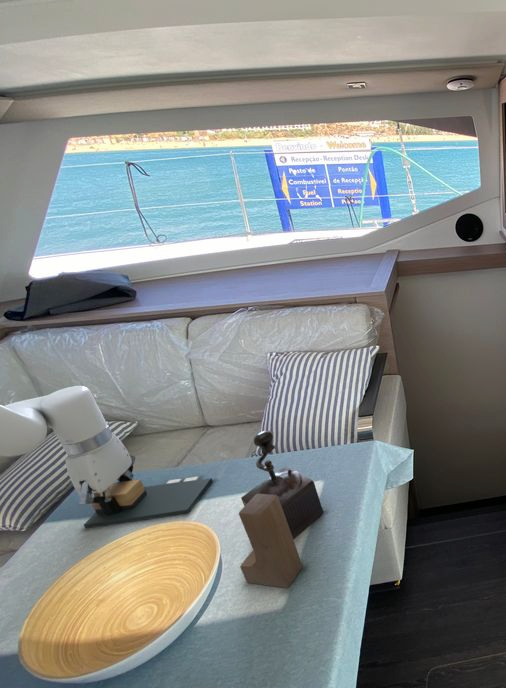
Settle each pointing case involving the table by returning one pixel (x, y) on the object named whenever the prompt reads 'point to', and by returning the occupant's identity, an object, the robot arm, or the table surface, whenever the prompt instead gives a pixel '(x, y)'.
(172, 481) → the chalk mark
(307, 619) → the table surface
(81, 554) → the table surface
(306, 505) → the manual coffee grinder
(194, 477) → the chalk mark
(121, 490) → the eraser
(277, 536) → the wooden block
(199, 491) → the slate board
